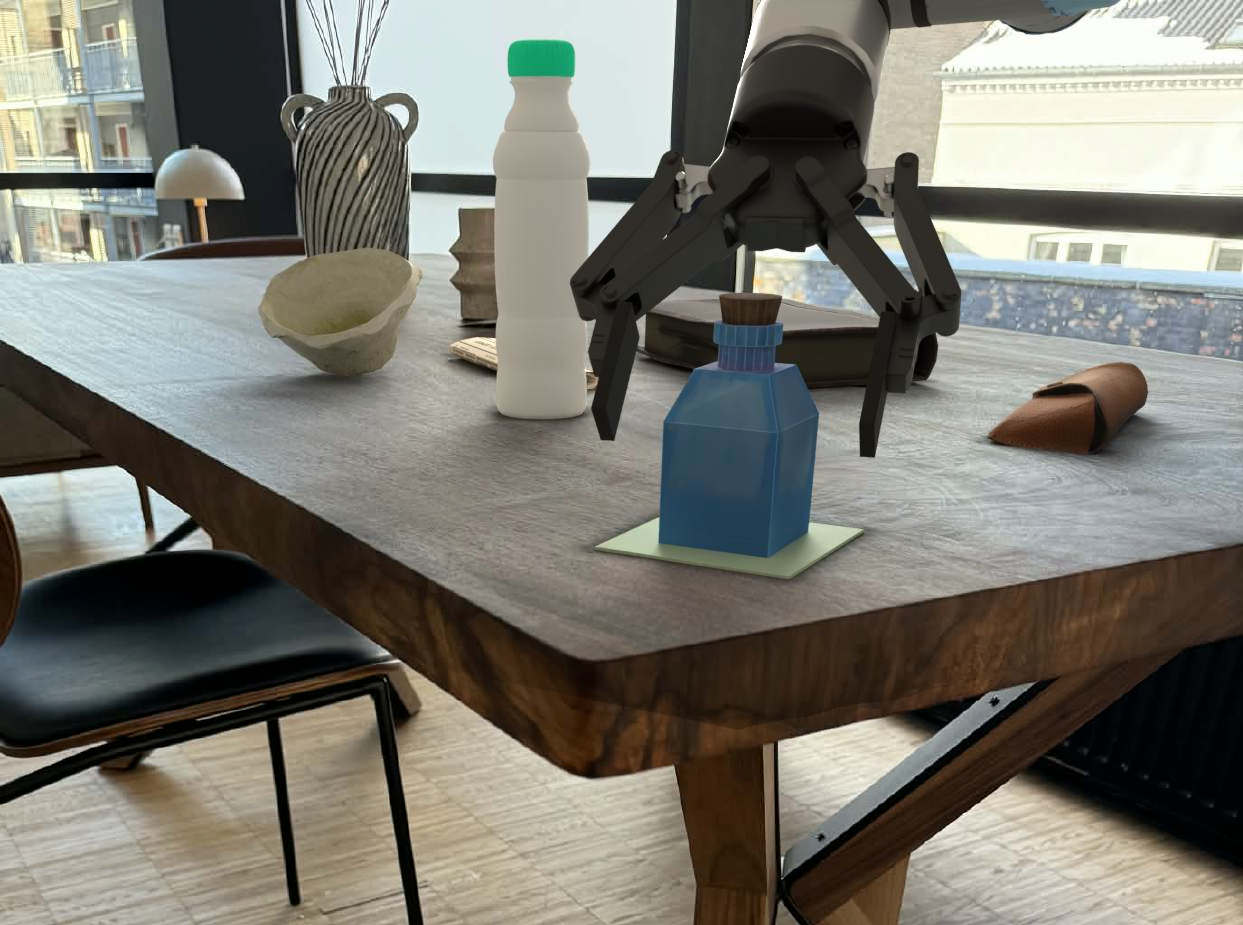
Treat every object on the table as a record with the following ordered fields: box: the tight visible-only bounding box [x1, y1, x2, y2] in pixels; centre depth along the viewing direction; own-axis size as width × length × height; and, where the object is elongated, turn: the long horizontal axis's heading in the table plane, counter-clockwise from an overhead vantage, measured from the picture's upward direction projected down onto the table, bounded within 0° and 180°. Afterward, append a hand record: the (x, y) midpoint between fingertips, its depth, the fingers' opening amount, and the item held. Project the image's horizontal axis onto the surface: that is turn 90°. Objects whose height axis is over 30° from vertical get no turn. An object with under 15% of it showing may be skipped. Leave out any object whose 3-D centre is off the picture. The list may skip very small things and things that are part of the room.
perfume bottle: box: [658, 292, 820, 558], centre depth 74 cm, size 6×6×12 cm
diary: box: [636, 298, 939, 389], centre depth 132 cm, size 19×25×5 cm
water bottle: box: [492, 38, 591, 420], centre depth 106 cm, size 7×7×25 cm
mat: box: [594, 516, 865, 580], centre depth 77 cm, size 11×11×1 cm
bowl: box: [257, 247, 424, 377], centre depth 128 cm, size 15×14×10 cm
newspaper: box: [448, 336, 599, 390], centre depth 130 cm, size 24×7×2 cm, turn 23°
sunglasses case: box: [986, 361, 1149, 455], centre depth 106 cm, size 18×7×7 cm, turn 152°
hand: (731, 433), depth 73 cm, fingers open, 13 cm apart
